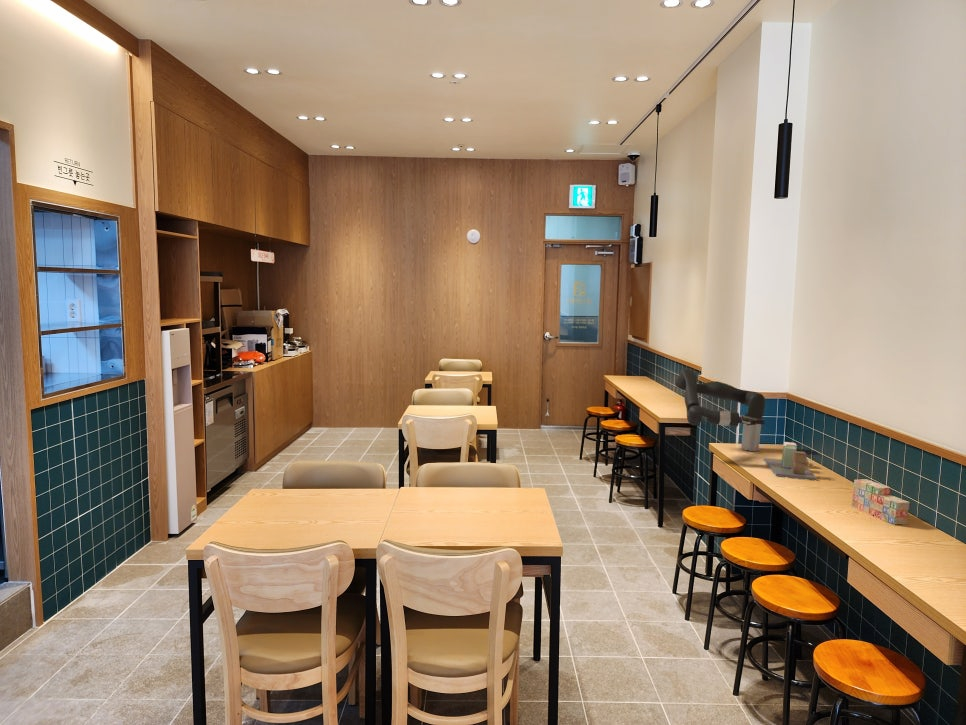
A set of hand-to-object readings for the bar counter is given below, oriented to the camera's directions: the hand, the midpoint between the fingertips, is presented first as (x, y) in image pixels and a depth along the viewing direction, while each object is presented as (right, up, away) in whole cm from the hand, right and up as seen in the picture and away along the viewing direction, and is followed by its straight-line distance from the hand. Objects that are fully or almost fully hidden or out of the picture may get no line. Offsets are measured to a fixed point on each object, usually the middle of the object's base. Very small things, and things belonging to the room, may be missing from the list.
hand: (764, 422), depth 327 cm
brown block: (+12, -24, -11) cm, 29 cm away
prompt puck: (+26, -23, +14) cm, 38 cm away
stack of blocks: (+18, -32, -64) cm, 74 cm away
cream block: (+16, -22, +9) cm, 29 cm away
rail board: (+12, -24, 0) cm, 27 cm away
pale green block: (+12, -23, -1) cm, 25 cm away
